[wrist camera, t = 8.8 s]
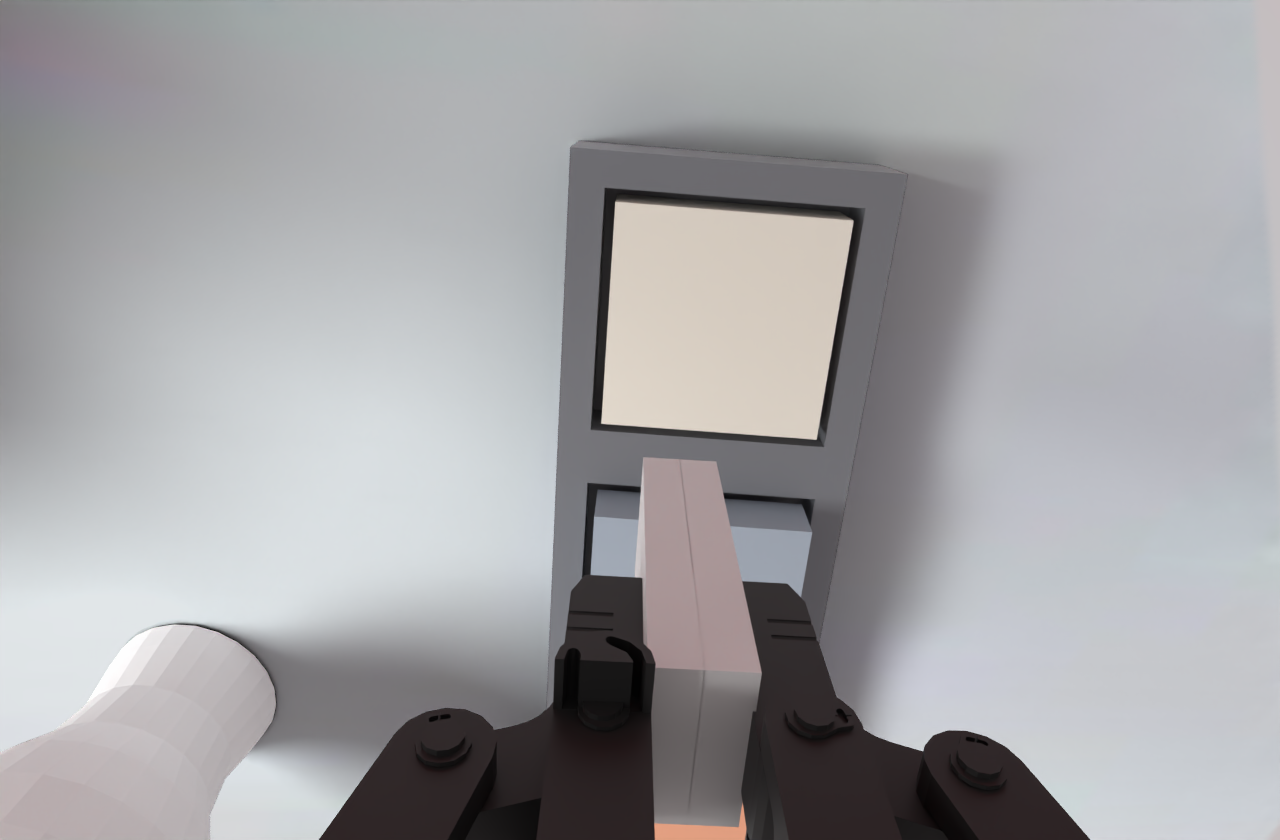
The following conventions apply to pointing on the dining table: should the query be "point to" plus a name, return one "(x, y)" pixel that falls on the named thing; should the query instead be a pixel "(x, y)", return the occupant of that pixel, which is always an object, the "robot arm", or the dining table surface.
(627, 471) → the keypad
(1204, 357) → the dining table surface
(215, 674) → the cup
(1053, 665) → the dining table surface
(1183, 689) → the dining table surface
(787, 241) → the key cream
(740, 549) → the key slate
